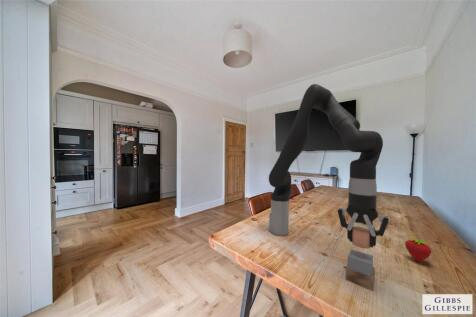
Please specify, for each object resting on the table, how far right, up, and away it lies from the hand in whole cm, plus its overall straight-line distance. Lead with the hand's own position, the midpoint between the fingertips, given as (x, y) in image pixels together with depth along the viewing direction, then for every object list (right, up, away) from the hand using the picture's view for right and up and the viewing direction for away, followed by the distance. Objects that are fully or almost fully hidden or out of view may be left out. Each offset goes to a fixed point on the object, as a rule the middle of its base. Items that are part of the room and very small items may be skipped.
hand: (361, 243), depth 58 cm
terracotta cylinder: (0, 0, 0) cm, 0 cm away
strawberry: (+29, -12, +10) cm, 33 cm away
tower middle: (0, -8, 0) cm, 8 cm away
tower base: (0, -12, 0) cm, 12 cm away
